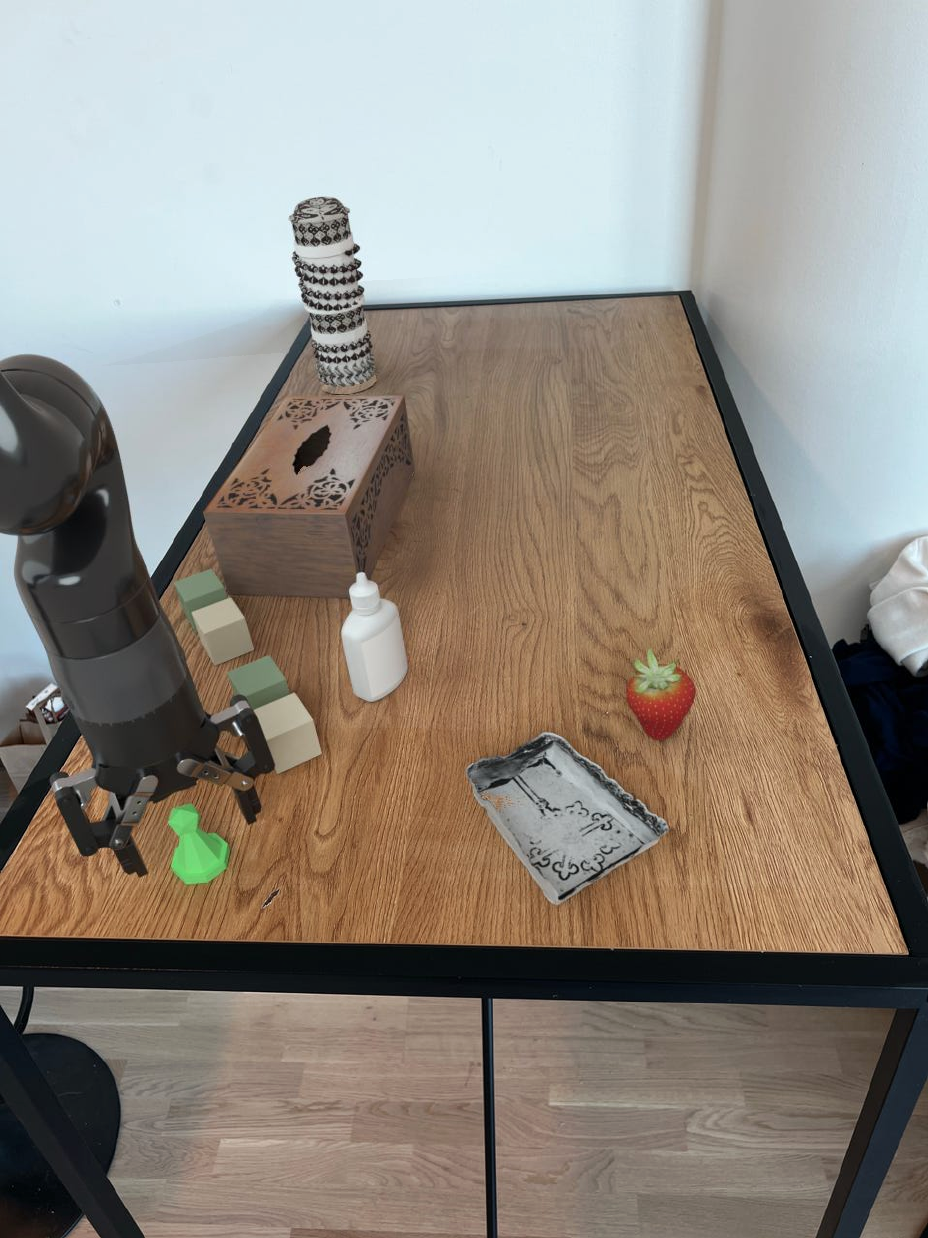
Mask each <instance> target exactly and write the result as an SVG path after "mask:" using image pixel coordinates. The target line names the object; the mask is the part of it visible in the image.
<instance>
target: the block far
mask: <svg viewBox="0 0 928 1238" xmlns="http://www.w3.org/2000/svg"><path fill="white" fill-rule="evenodd" d="M173 585H174V588H175V591H176V594H177V596H178V599H179V602H180V605H181V608H182V611H183V614H184V615H185V618H186V620H187V621H188V622H189V624H190V626H191V627H192V630H193V631H194V633H195V634H198V631H197V628H196V625H195V622H194V619H193V616H192V612H193V611H196V610H199V609H201V608H204V607H207V606H209V605H212V604H214V603H217V602H220V601H222V600H225V599H227V598H229V597H228V593H227V590H226V586H225V585H224V584H223V583H222V581H221V580H220V578H219V576H218V575H217V574H216V572H215V571H214V569H213V568H212V567H211V568H209V569H206V570H203V571H200V572H197V573H195V574H193V575H190V576H187V577H184V578H181V579H178V580H176V581H173Z"/></svg>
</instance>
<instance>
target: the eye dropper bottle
mask: <svg viewBox="0 0 928 1238" xmlns="http://www.w3.org/2000/svg"><path fill="white" fill-rule="evenodd" d="M349 594H350V598H349V599H350V602H351V603H350V604H351V608H352V610H351V611H350V613H348V615H347V617H346V618H345V620H344V622H343V625H342V627H341V632H340V633H341V634H340V635H341V641H342V646H343V651H344V652H343V653H344V655H345V661H346V666H347V670H348V674H349V681H350V684H351V688H352V692H353V694H354V695H355V697H357V698H359V699H362V700H363V701H366V702H368V703H375V702H377V701H379V700H381V699H383V698H384V697H386V696H388V695H390V694H391V693H392V692H394V691H395V690H396V689H397V688H398V687H399V686H400V685H401V683H402V682H403V681H404V679H405V677H406V676H407V673H408V670H409V664H408V659H407V658H408V657H407V651H406V646H405V641H404V635H403V629H402V624H401V619H400V614H399V608H398V606H397V604H396V603H394V602H393V601H391V600H388V599H386V598H383V597H382V598H381V596H380V590H379V585H378V584H377V583H376V582H375V581H373V580H371V579H370V580H367V577H366V575H365V573H363V572H360V573H358V574H357V578H356V583H354V584H353V585H352V586H351V587H350V589H349Z"/></svg>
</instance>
